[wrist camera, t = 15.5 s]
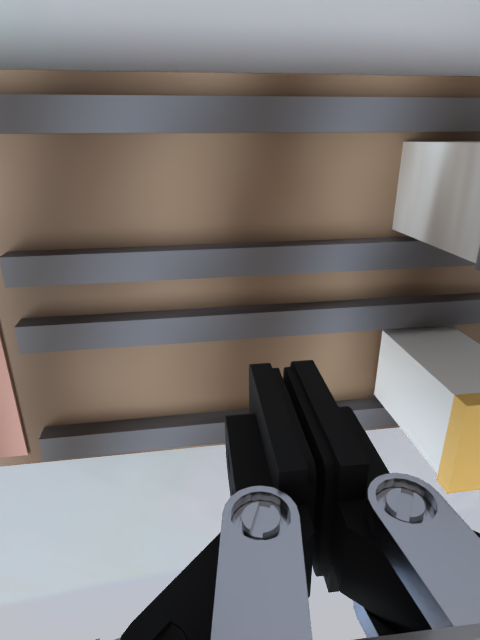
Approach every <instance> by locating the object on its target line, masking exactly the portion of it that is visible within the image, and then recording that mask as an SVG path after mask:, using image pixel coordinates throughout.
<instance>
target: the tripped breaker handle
mask: <svg viewBox="0 0 480 640" xmlns="http://www.w3.org/2000/svg"><path fill="white" fill-rule="evenodd" d="M374 395H375V396H376V398H377V399H378V400H379V401H380V403H381V404H382V405H383V406H384V408H385V409H386V410H387V411H388V413H389V414H390V415H391V416H392V418H393V419H394V420H395V421H396V423H397V424H398V425H399V426H400V428H401V429H402V430H403V431H404V433H405V434H406V435H407V436H408V438H409V439H410V440H411V441H412V443H413V444H414V445H415V446H416V448H417V449H418V450H419V451H420V453H421V454H422V455H423V457H424V458H425V459H426V460H427V462H428V463H429V464H430V465H431V467H432V468H433V469H434V470H435V472H436V473H437V474H438V475H437V479H436V480H437V481H438V482H439V484H440V485H441V486H442V488H443V489H444V490H445V491H446V493H455V492H463V491H471V490H480V344H479V343H477V342H476V341H474V340H473V339H471V338H470V337H468V336H467V335H465V334H464V333H462V332H461V331H459V330H458V329H456V328H455V327H453V326H437V327H422V328H407V329H392V330H382V337H381V345H380V352H379V360H378V368H377V375H376V383H375V391H374Z"/></svg>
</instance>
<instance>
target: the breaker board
mask: <svg viewBox="0 0 480 640" xmlns="http://www.w3.org/2000/svg"><path fill="white" fill-rule="evenodd" d="M437 326H453V327H455V328H456V329H458V330H459V331H461V332H462V333H464V334H465V335H467V336H468V337H470V338H471V339H473V340H474V341H476V342H477V343H479V344H480V77H477V76H409V75H341V74H272V73H204V72H136V71H67V70H0V466H10V465H20V464H30V463H40V462H50V461H60V460H71V459H81V458H91V457H101V456H111V455H121V454H131V453H142V452H152V451H162V450H172V449H182V448H192V447H202V446H213V445H223V444H226V441H225V416H227V415H240V414H249V364H259V363H271V366H272V368H279V370H280V372H281V375H282V377H283V370H284V367H290V364H291V362H292V361H303V360H313V361H314V363H315V365H316V366H317V368H318V370H319V372H320V374H321V376H322V377H323V379H324V381H325V383H326V385H327V387H328V389H329V390H330V392H331V394H332V396H333V398H334V400H335V401H336V403H337V405H338V407H341V406H349V407H350V408H351V409H352V410H353V412H354V413H355V415H356V417H357V419H358V420H359V422H360V424H361V425H362V427H363V429H364V430H375V429H385V428H395V427H400V426H399V425H398V424H397V423H396V421H395V420H394V419H393V418H392V416H391V415H390V414H389V413H388V411H387V410H386V409H385V408H384V406H383V405H382V404H381V403H380V401H379V400H378V399H377V398H376V396H375V395H374V391H375V383H376V375H377V368H378V360H379V352H380V345H381V337H382V330H392V329H407V328H422V327H437Z"/></svg>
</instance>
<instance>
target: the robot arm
mask: <svg viewBox="0 0 480 640" xmlns="http://www.w3.org/2000/svg"><path fill="white" fill-rule="evenodd" d="M225 441H226V458H227V470H228V479H229V487H230V496H231V497H230V499H229V500H228V501H227V503H226V504H225V507H224V510H223V514H222V524H221V532H220V534H219V535H218V536H217V537H216V538H215V539H214V540H213V541H212V542H211V543H210V544H209V545H208V546H207V547H206V548H205V549H204V550H203V551H202V552H201V553H200V554H199V555H198V556H197V557H196V558H195V559H194V560H193V561H192V562H191V563H190V564H189V565H188V566H187V567H186V568H185V569H184V570H183V571H182V572H181V573H180V574H179V575H178V576H177V577H176V578H175V579H174V580H173V581H172V582H171V583H170V584H169V585H168V586H167V587H166V588H165V589H164V590H163V591H162V593H160V594H159V595H158V596H157V597H156V598H155V599H154V600H153V601H152V602H151V603H150V605H148V606H147V608H146V609H145V610H144V611H143V612H142V613H141V614H140V615H139V616H138V617H137V618H136V619H135V620H134V621H133V622H132V623H131V624H130V625H129V627H128V628H127V629H126V631H125V632H124V633H123V635H122V636H121V638H118V639H115V640H312V631H311V621H310V611H309V602H308V598H309V596H310V587H311V573H312V566H313V569H314V572H315V575H316V576H324V579H325V582H326V585H327V588H328V592H336V591H340V592H341V593H343V594H344V595H346V596H347V597H349V598H350V599H352V600H353V601H354V610H355V613H356V616H357V618H358V620H359V622H360V624H361V626H362V628H363V630H364V632H365V634H366V636H367V638H363V639H356V640H480V533H478V532H475V531H473V530H472V529H471V528H470V527H469V526H468V525H467V524H466V523H465V521H464V520H463V519H462V518H461V517H460V516H459V515H458V514H457V512H456V511H455V510H454V509H453V508H452V507H451V506H450V505H449V504H448V502H447V501H446V500H445V499H444V498H443V497H442V496H441V495H440V493H439V492H438V491H436V490H435V489H434V488H433V487H432V486H431V485H430V484H428V483H426V482H425V481H423V480H421V479H419V478H417V477H414V476H411V475H408V474H401V473H389V471H388V470H387V468H386V466H385V464H384V463H383V461H382V459H381V458H380V456H379V454H378V453H377V451H376V449H375V447H374V446H373V444H372V442H371V441H370V439H369V437H368V436H367V434H366V432H365V430H364V429H363V427H362V425H361V424H360V422H359V420H358V419H357V417H356V415H355V413H354V412H353V410H352V409H351V408H350V407H349V406H341V407H338V405H337V403H336V401H335V400H334V398H333V396H332V394H331V392H330V390H329V389H328V387H327V385H326V383H325V381H324V379H323V377H322V376H321V374H320V372H319V370H318V368H317V366H316V365H315V363H314V361H313V360H303V361H292V362H291V364H290V367H284V370H283V377H282V375H281V372H280V370H279V368H272V366H271V363H259V364H249V414H240V415H227V416H225ZM96 640H100V639H96Z"/></svg>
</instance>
